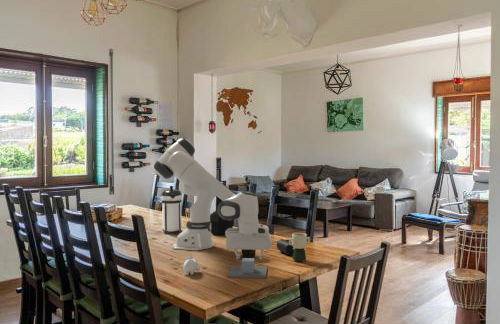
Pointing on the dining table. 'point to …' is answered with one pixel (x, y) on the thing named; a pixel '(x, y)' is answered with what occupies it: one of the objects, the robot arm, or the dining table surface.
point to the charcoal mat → (237, 273)
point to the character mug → (299, 245)
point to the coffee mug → (248, 253)
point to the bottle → (219, 222)
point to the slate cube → (247, 265)
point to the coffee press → (171, 210)
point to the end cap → (285, 247)
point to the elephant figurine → (190, 265)
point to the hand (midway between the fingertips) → (249, 259)
